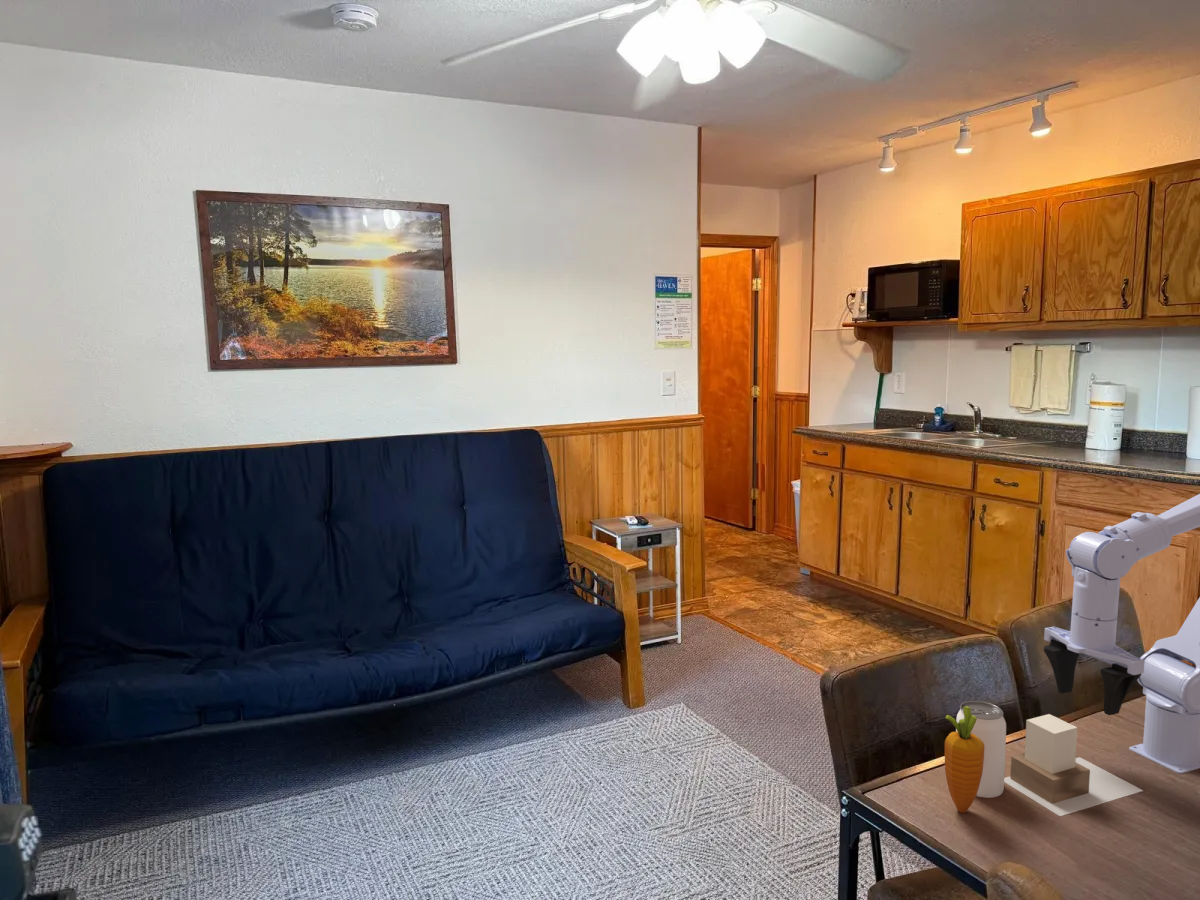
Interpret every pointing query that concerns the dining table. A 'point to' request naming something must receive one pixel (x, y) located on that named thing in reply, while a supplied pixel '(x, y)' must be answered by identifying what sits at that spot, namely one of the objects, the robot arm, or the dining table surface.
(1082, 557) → the robot arm
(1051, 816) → the dining table surface
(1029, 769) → the brown block
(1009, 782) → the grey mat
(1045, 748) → the cream block
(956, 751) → the carrot
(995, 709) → the can
